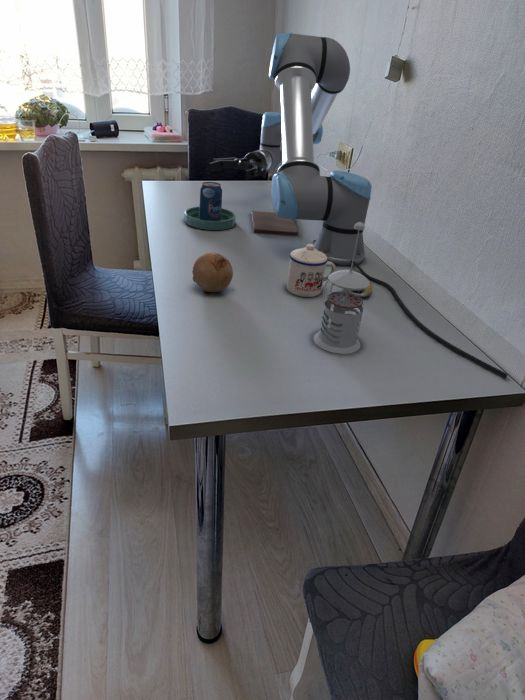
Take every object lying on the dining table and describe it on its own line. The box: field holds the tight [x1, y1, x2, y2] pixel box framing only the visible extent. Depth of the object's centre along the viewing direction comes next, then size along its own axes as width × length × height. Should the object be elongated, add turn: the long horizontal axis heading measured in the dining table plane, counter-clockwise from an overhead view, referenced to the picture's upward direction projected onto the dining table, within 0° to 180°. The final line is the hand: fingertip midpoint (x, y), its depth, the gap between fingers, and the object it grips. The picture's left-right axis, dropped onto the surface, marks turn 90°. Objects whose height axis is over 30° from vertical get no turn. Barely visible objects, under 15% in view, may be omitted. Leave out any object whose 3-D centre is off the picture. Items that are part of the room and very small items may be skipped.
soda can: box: [199, 181, 223, 221], centre depth 159 cm, size 7×7×12 cm
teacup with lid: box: [286, 243, 336, 298], centre depth 121 cm, size 12×9×12 cm
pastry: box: [343, 280, 373, 298], centre depth 125 cm, size 9×7×4 cm
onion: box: [191, 252, 234, 293], centre depth 117 cm, size 10×9×10 cm
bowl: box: [184, 205, 236, 231], centre depth 161 cm, size 16×16×3 cm
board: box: [250, 210, 299, 237], centre depth 167 cm, size 20×14×1 cm
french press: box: [313, 222, 371, 355], centre depth 97 cm, size 10×12×25 cm
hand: (227, 171), depth 162 cm, fingers open, 13 cm apart
